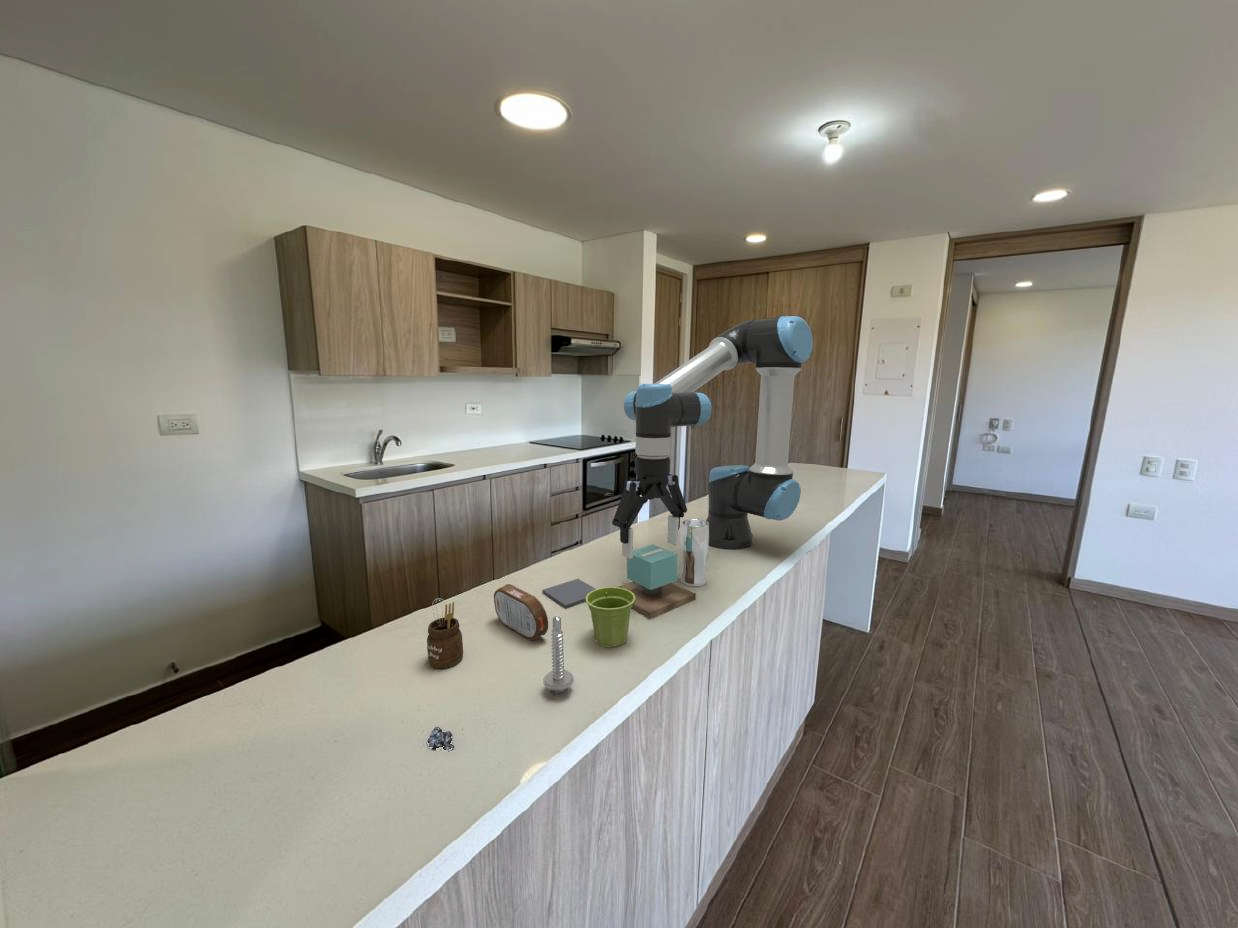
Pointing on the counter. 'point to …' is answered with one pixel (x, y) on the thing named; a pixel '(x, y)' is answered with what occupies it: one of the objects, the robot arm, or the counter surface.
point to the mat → (569, 593)
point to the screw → (558, 663)
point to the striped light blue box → (652, 567)
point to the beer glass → (694, 551)
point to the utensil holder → (444, 640)
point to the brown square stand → (658, 598)
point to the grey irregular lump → (440, 739)
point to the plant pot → (610, 614)
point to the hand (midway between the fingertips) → (650, 550)
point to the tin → (521, 611)
